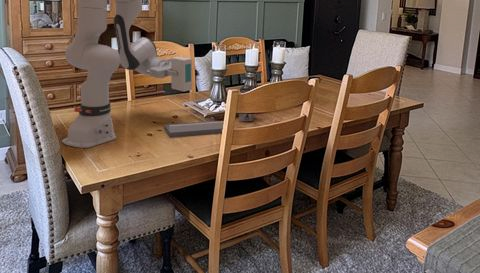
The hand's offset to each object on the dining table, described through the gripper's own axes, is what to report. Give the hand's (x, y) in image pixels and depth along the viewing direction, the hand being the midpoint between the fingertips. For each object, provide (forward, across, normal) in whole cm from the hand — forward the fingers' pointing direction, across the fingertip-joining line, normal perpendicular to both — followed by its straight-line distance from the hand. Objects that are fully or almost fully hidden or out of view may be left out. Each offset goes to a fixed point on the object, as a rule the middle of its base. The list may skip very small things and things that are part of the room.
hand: (182, 72), depth 223 cm
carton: (0, 0, +8) cm, 8 cm away
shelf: (+11, -3, +24) cm, 27 cm away
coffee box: (+17, +27, +24) cm, 40 cm away
